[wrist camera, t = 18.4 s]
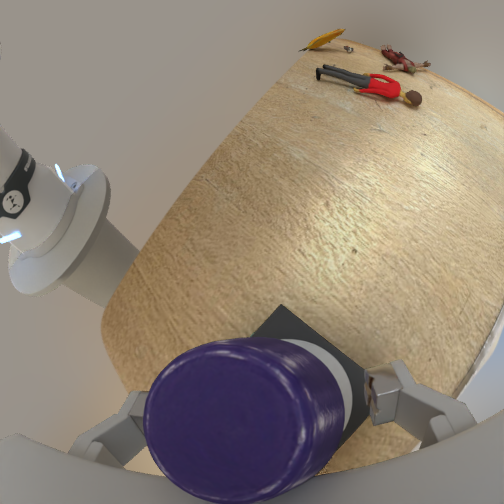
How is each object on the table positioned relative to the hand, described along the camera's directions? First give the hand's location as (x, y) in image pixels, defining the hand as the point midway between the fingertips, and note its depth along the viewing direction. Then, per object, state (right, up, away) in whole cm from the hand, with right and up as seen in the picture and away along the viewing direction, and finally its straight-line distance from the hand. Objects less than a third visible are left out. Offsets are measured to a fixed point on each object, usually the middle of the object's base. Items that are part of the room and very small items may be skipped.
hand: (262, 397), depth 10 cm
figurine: (+28, +48, +33) cm, 65 cm away
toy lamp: (+2, -5, +8) cm, 10 cm away
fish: (+16, +51, +37) cm, 65 cm away
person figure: (+11, +37, +31) cm, 49 cm away
